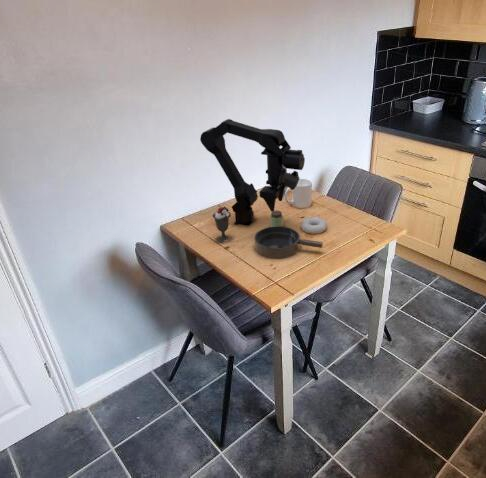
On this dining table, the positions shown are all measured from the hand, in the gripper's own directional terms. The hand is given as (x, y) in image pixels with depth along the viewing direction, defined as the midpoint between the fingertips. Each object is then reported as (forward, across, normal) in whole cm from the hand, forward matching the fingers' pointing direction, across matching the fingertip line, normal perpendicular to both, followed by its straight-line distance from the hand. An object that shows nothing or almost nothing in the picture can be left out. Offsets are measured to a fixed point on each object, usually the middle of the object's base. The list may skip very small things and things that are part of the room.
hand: (276, 205), depth 162 cm
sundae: (+10, -14, +16) cm, 23 cm away
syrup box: (+10, +32, +10) cm, 35 cm away
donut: (+10, +3, -14) cm, 17 cm away
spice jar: (+9, 0, 0) cm, 9 cm away
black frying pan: (+9, -14, -5) cm, 18 cm away
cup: (+10, +22, -2) cm, 24 cm away
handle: (+7, -14, -17) cm, 23 cm away
